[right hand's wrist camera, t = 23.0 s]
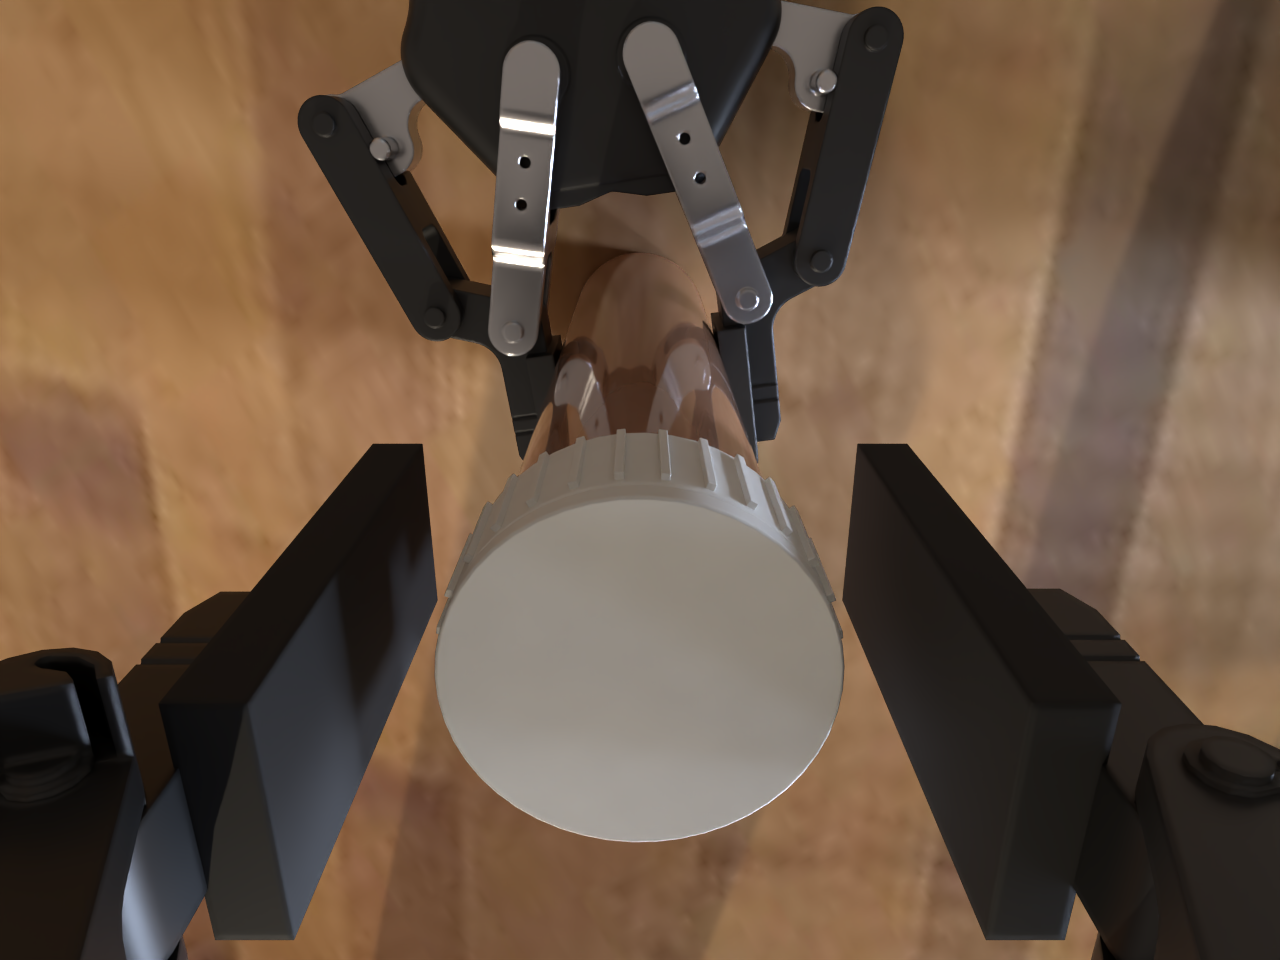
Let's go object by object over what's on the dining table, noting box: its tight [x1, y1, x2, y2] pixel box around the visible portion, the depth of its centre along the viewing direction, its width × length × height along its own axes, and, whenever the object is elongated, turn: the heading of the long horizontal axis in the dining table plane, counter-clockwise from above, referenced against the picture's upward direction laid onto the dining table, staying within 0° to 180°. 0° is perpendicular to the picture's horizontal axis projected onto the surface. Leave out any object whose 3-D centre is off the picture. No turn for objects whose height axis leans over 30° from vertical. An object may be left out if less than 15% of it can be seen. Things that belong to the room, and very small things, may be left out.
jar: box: [518, 253, 762, 477], centre depth 20 cm, size 4×4×19 cm
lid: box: [435, 429, 844, 842], centre depth 11 cm, size 5×5×2 cm
